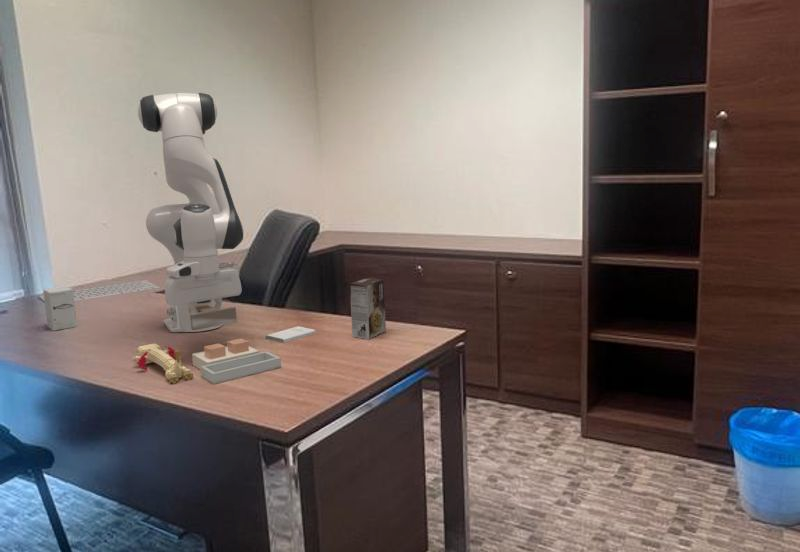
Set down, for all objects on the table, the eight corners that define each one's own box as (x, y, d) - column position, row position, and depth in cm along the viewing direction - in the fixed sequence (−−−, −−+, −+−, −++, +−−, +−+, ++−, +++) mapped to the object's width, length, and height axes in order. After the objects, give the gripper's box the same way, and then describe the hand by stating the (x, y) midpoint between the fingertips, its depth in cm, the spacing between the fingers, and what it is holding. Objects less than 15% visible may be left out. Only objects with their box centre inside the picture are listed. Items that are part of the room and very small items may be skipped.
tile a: (204, 355, 176) (203, 346, 175) (219, 352, 178) (218, 343, 178) (210, 359, 173) (210, 349, 172) (225, 355, 175) (225, 346, 175)
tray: (201, 376, 169) (200, 366, 169) (267, 360, 180) (266, 351, 179) (213, 384, 163) (212, 373, 163) (281, 367, 174) (280, 357, 174)
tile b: (228, 350, 180) (227, 341, 179) (242, 347, 182) (241, 338, 182) (234, 353, 176) (233, 344, 176) (248, 350, 179) (248, 341, 178)
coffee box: (368, 329, 207) (366, 277, 204) (386, 332, 204) (384, 278, 201) (351, 337, 199) (348, 283, 196) (369, 339, 196) (367, 284, 193)
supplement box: (53, 331, 218) (48, 292, 215) (47, 327, 223) (42, 289, 221) (77, 327, 222) (73, 288, 220) (71, 323, 228) (67, 285, 226)
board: (192, 365, 178) (191, 353, 178) (242, 353, 187) (241, 343, 186) (208, 374, 171) (207, 362, 170) (259, 361, 179) (258, 350, 178)
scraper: (174, 322, 187) (173, 307, 187) (216, 314, 194) (215, 300, 194) (193, 330, 177) (192, 315, 176) (236, 322, 184) (235, 307, 183)
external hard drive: (265, 340, 201) (297, 330, 210) (284, 344, 196) (316, 334, 205) (265, 334, 201) (297, 325, 210) (283, 339, 196) (315, 329, 205)
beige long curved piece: (201, 382, 169) (162, 353, 188) (199, 348, 167) (160, 322, 186) (162, 392, 163) (125, 361, 181) (159, 357, 161) (122, 330, 179)
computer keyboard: (47, 306, 257) (47, 302, 256) (37, 299, 271) (37, 295, 271) (162, 289, 282) (161, 285, 282) (147, 283, 297) (147, 279, 297)
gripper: (233, 260, 191) (237, 308, 193) (160, 269, 178) (165, 321, 181) (243, 262, 186) (247, 311, 188) (168, 272, 173) (174, 325, 176)
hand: (206, 316), depth 184 cm, fingers closed on scraper, 3 cm apart
